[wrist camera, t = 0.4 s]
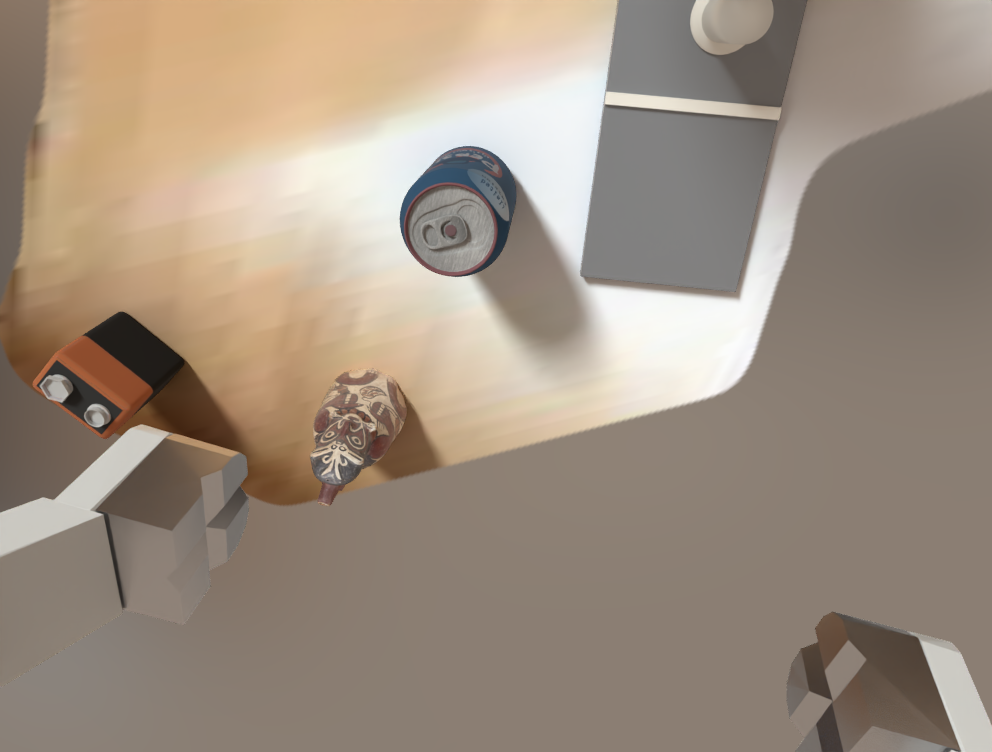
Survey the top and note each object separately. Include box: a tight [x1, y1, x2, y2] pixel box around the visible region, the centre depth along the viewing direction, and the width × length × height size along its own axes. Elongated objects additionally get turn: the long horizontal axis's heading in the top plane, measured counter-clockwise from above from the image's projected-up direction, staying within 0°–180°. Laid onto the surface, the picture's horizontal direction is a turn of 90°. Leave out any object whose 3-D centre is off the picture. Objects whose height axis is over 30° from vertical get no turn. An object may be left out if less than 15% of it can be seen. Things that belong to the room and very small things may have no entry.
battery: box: [33, 312, 184, 439], centre depth 57 cm, size 4×7×10 cm, turn 45°
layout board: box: [580, 0, 807, 292], centre depth 46 cm, size 26×12×7 cm, turn 175°
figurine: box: [310, 368, 407, 506], centre depth 57 cm, size 7×7×12 cm
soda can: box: [400, 146, 516, 277], centre depth 48 cm, size 7×7×12 cm
